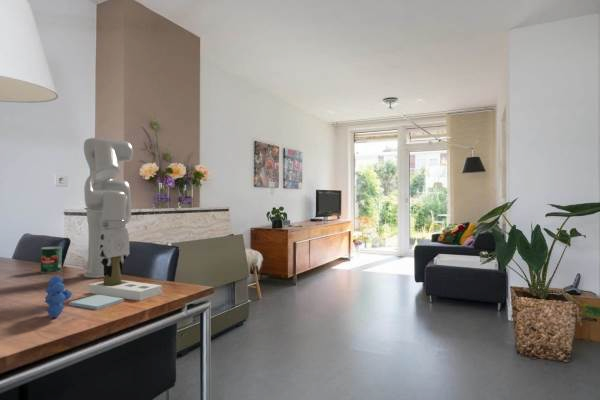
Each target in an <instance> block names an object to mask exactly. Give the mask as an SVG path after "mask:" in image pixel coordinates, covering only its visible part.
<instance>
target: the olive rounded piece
mask: <svg viewBox="0 0 600 400" xmlns="http://www.w3.org/2000/svg"><path fill="white" fill-rule="evenodd" d="M106 260H107V258H106ZM120 261H121V256H118V257H112V258H111V264H110V266H112V274H111V277H108V275H106V276H105V277H103V278H104V279H103V281H104V283H103V285H105V286H115V285H120V284H122V274H121V272H120V264H119V262H120Z"/></svg>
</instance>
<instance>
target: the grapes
mask: <svg viewBox="0 0 600 400" xmlns="http://www.w3.org/2000/svg"><path fill="white" fill-rule="evenodd" d="M63 282H64V279H63V277H60V276H58V275H56V276H55V275H54V276H53V277H51V278H49V279H48V281H47V283H46V284H47V286H48V287H46V289H45V290H44V291H45V292H46V296H45V297H44V299H45V300H44V303H46V304H47V305H48V307H47V308H46V310H45V311H46V312H47V314H48V315H49V316H50V317H51V318H52V319H53V318H54V319H55V318H58V317H59V316H60V315H61V314H62V312H63V310H64V309H65V306H64V305H63V304H64V303H65V301H67V300H69V299H70V298H71V297H72V296H73V292H72V291H71V290H69V289H65V288H66V285H65V284H64V283H63Z"/></svg>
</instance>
